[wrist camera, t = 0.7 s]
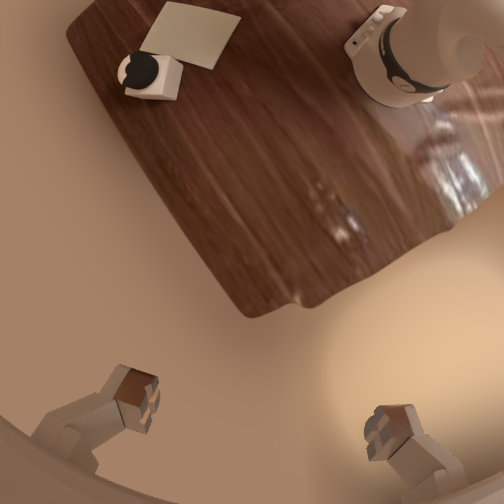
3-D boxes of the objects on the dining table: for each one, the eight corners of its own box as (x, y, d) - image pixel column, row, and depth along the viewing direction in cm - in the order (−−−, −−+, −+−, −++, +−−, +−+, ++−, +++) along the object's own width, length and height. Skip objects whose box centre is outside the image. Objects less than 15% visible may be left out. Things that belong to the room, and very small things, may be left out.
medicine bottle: (184, 65, 41) (158, 46, 30) (176, 100, 44) (148, 90, 33) (149, 64, 42) (118, 48, 30) (142, 99, 44) (108, 90, 33)
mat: (167, 2, 36) (167, 1, 36) (241, 18, 37) (241, 17, 37) (140, 50, 40) (139, 50, 40) (212, 70, 42) (211, 69, 41)
